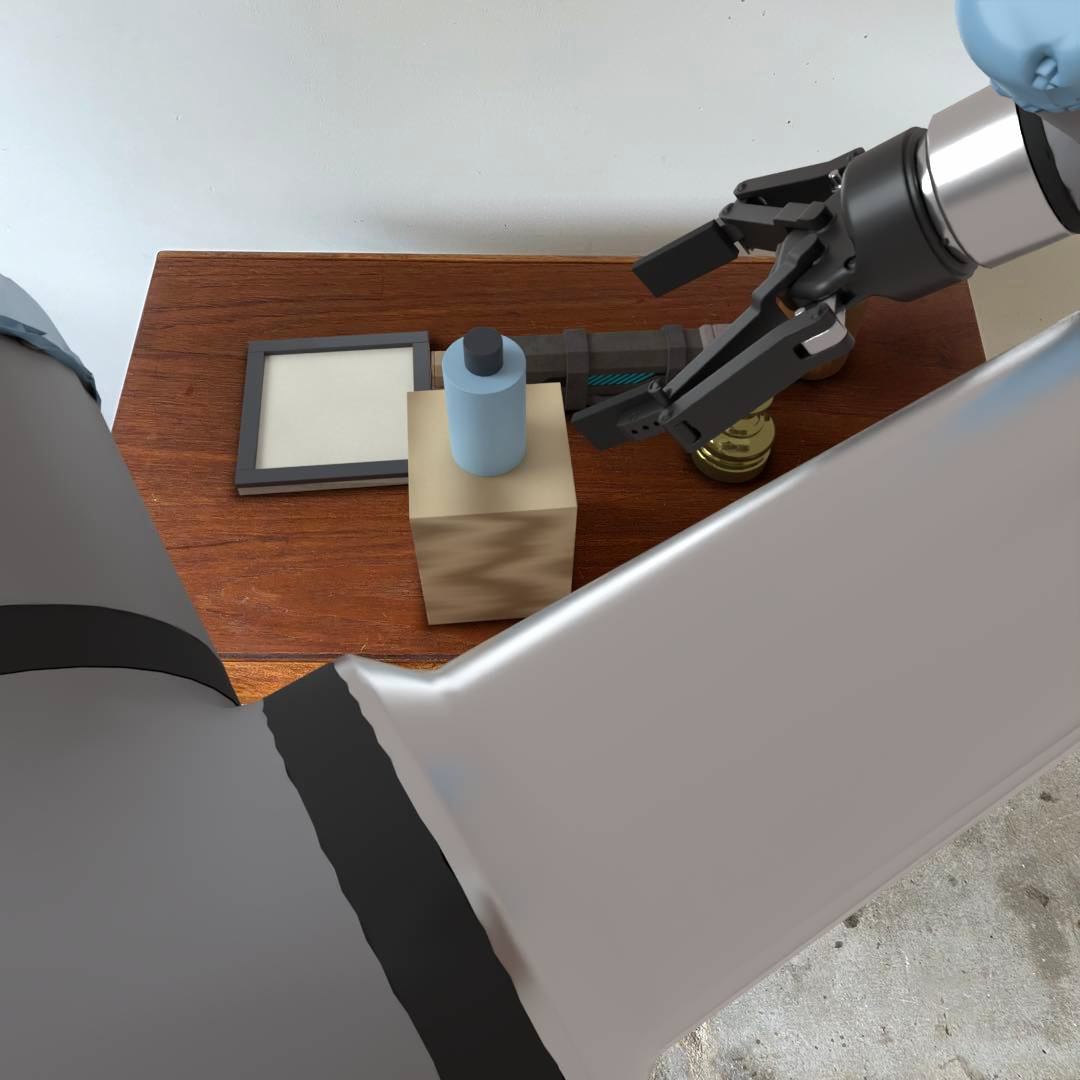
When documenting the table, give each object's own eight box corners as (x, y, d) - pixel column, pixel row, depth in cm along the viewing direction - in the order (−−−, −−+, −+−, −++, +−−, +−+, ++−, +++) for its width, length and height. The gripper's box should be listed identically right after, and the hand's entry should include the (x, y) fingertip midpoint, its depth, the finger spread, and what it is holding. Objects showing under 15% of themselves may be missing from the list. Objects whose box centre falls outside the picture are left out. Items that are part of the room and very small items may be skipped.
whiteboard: (239, 495, 89) (234, 484, 87) (253, 353, 98) (248, 340, 97) (434, 482, 90) (433, 470, 88) (429, 343, 100) (427, 330, 98)
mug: (844, 424, 94) (876, 351, 86) (761, 412, 95) (784, 339, 86) (845, 331, 101) (874, 256, 93) (768, 321, 102) (789, 245, 93)
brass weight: (740, 498, 89) (762, 429, 81) (673, 458, 92) (688, 386, 83) (781, 450, 92) (806, 378, 84) (716, 412, 95) (734, 339, 86)
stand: (428, 625, 82) (409, 518, 68) (425, 509, 88) (406, 391, 75) (569, 614, 82) (577, 506, 69) (555, 500, 89) (560, 382, 75)
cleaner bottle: (452, 479, 70) (441, 375, 61) (449, 420, 73) (438, 312, 64) (529, 474, 70) (529, 369, 61) (522, 415, 73) (522, 308, 64)
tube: (441, 390, 100) (731, 351, 98) (445, 449, 97) (742, 410, 96) (419, 335, 89) (742, 291, 88) (423, 400, 87) (755, 356, 85)
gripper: (970, 447, 40) (601, 546, 55) (1003, 110, 53) (697, 265, 68) (881, 324, 36) (512, 467, 51) (940, -5, 49) (632, 185, 64)
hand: (617, 352), depth 60 cm, fingers open, 13 cm apart
